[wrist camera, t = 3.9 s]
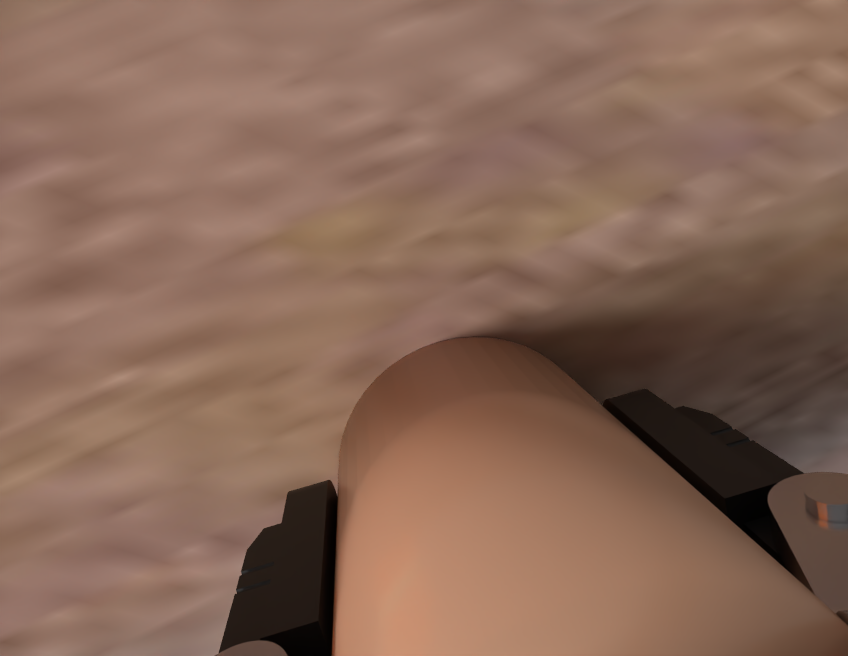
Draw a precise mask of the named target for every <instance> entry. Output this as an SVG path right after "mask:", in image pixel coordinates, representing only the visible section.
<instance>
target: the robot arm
mask: <svg viewBox="0 0 848 656" xmlns="http://www.w3.org/2000/svg"><path fill="white" fill-rule="evenodd" d="M603 407H604V408H605V409H606V410H608V411H609V412H610V413H611V414H612V415H613V416H614V417H615V418H617V419H618V420H619V421H620V422H621V423H622V424H623V425H624V426H625V427H627V428H628V429H629V430H630V431H631V432H632V433H633V434H634V435H636V436H637V437H638V438H639V439H640V440H641V441H642V442H643V443H645V444H646V445H647V446H648V447H649V448H650V449H651V450H652V451H654V452H655V453H656V454H657V455H658V456H659V457H660V458H661V459H663V460H664V461H665V462H666V463H667V464H668V465H669V466H670V467H672V468H673V469H674V470H675V471H676V472H677V473H678V474H679V475H681V476H682V477H683V478H684V479H685V480H686V481H687V482H688V483H690V484H691V485H692V486H693V487H694V488H695V489H696V490H697V491H699V492H700V493H701V494H702V495H703V496H704V497H705V498H706V499H708V500H709V501H710V502H711V503H712V504H713V505H714V506H715V507H717V508H718V509H719V510H720V511H721V512H722V513H723V514H724V515H725V516H727V517H728V518H729V519H730V520H731V521H732V522H733V523H734V524H736V525H737V526H738V527H739V528H740V529H741V530H742V531H743V532H745V533H746V534H747V535H748V536H749V537H750V538H751V539H752V540H754V541H755V542H756V543H757V544H758V545H759V546H760V547H761V548H763V549H764V550H765V551H766V552H767V553H768V554H769V555H770V556H772V557H773V558H774V559H775V560H776V561H777V562H778V563H779V564H781V565H782V566H783V567H784V568H785V569H786V570H787V571H788V572H790V573H791V574H792V575H793V576H794V577H795V578H796V579H797V580H799V581H800V582H801V583H802V584H803V585H804V586H805V587H806V588H808V589H809V590H810V591H811V592H812V593H813V594H814V595H815V596H817V597H818V598H819V599H820V600H821V601H822V602H823V603H824V604H825V605H827V606H828V607H829V608H830V609H831V610H832V611H833V612H834V613H836V614H837V615H838V616H839V617H840V618H841V619H842V620H843V621H844V622H845V623H846V624H847V625H848V474H842V473H833V472H815V473H805V474H804V473H803V472H801V471H800V470H798V469H796V468H795V467H793V466H792V465H790V464H789V463H787V462H786V461H784V460H782V459H781V458H779V457H778V456H776V455H775V454H773V453H772V452H770V451H768V450H767V449H765V448H764V447H762V446H761V445H759V444H758V443H756V442H754V441H750V440H749V438H748V437H747V436H745V435H744V434H742V433H741V432H739V431H737V430H736V429H735V430H733V429H732V427H731V426H730V425H728V424H727V423H725V422H723V421H722V420H720V419H719V418H717V417H716V416H714V415H713V414H710V413H707V412H703V411H700V410H696V409H692V408H689V407H685V406H682V407H678V408H675V409H674V408H673V407H671V406H670V405H669V404H667V403H666V402H664V401H663V400H662V399H660V398H659V397H657V396H656V395H654V394H653V393H652V392H650V391H649V390H647V389H642V390H638V391H635V392H631V393H628V394H625V395H621V396H618V397H614V398H611V399H607V400H605V401H604V402H603ZM337 498H338V497H337V494H336V491H335V488H334V486H333V484H332V482H331V481H330V480H327V481H324V482H320V483H317V484H313V485H310V486H306V487H303V488H299V489H296V490H293V491H289V492H288V494H287V498H286V504H285V509H284V514H283V519H282V523H281V524H277V525H274V526H271V527H267V528H264V529H263V530H262V532H261V533H260V534H259V535H258V537H257V538H256V539H255V541H254V542H253V543H252V544H251V546H250V547H249V548H248V549H247V552H246V556H245V559H244V563H243V567H242V570H241V573H242V575H241V576H240V577H239V581H238V585H237V588H236V591H237V594H235V596H234V599H233V603H232V607H231V610H230V614H229V617H228V621H227V625H226V628H225V632H224V636H223V639H222V643H221V647H220V650H219V654H217V655H215V656H332V632H333V605H334V578H335V552H336V525H337Z"/></svg>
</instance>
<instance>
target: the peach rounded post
mask: <svg viewBox="0 0 848 656" xmlns="http://www.w3.org/2000/svg"><path fill="white" fill-rule="evenodd" d="M332 656H848V625H847V624H846V623H845V622H844V621H843V620H842V619H841V618H840V617H839V616H838V615H837V614H836V613H834V612H833V611H832V610H831V609H830V608H829V607H828V606H827V605H825V604H824V603H823V602H822V601H821V600H820V599H819V598H818V597H817V596H815V595H814V594H813V593H812V592H811V591H810V590H809V589H808V588H806V587H805V586H804V585H803V584H802V583H801V582H800V581H799V580H797V579H796V578H795V577H794V576H793V575H792V574H791V573H790V572H788V571H787V570H786V569H785V568H784V567H783V566H782V565H781V564H779V563H778V562H777V561H776V560H775V559H774V558H773V557H772V556H770V555H769V554H768V553H767V552H766V551H765V550H764V549H763V548H761V547H760V546H759V545H758V544H757V543H756V542H755V541H754V540H752V539H751V538H750V537H749V536H748V535H747V534H746V533H745V532H743V531H742V530H741V529H740V528H739V527H738V526H737V525H736V524H734V523H733V522H732V521H731V520H730V519H729V518H728V517H727V516H725V515H724V514H723V513H722V512H721V511H720V510H719V509H718V508H717V507H715V506H714V505H713V504H712V503H711V502H710V501H709V500H708V499H706V498H705V497H704V496H703V495H702V494H701V493H700V492H699V491H697V490H696V489H695V488H694V487H693V486H692V485H691V484H690V483H688V482H687V481H686V480H685V479H684V478H683V477H682V476H681V475H679V474H678V473H677V472H676V471H675V470H674V469H673V468H672V467H670V466H669V465H668V464H667V463H666V462H665V461H664V460H663V459H661V458H660V457H659V456H658V455H657V454H656V453H655V452H654V451H652V450H651V449H650V448H649V447H648V446H647V445H646V444H645V443H643V442H642V441H641V440H640V439H639V438H638V437H637V436H636V435H634V434H633V433H632V432H631V431H630V430H629V429H628V428H627V427H625V426H624V425H623V424H622V423H621V422H620V421H619V420H618V419H617V418H615V417H614V416H613V415H612V414H611V413H610V412H609V411H608V410H606V409H605V408H604V407H603V406H602V405H601V404H600V403H599V402H597V401H596V400H595V399H594V398H593V397H592V396H591V395H590V394H588V393H587V392H586V391H585V390H584V389H583V388H582V387H581V386H579V385H578V384H577V383H576V382H575V381H574V380H573V379H572V378H570V377H569V376H568V375H567V374H566V373H565V372H564V371H563V370H561V369H560V368H559V367H558V366H557V365H556V364H555V363H554V362H552V361H551V360H549V359H548V358H546V357H545V356H543V355H542V354H540V353H539V352H536V351H534V350H532V349H530V348H528V347H526V346H524V345H520V344H517V343H514V342H511V341H508V340H502V339H496V338H489V337H466V338H455V339H451V340H446V341H441V342H437V343H435V344H432V345H429V346H426V347H423V348H421V349H419V350H417V351H415V352H413V353H411V354H409V355H407V356H405V357H403V358H402V359H400V360H399V361H397V362H396V363H394V364H393V365H391V366H390V367H389V368H388V369H387V370H385V371H384V372H383V373H382V374H381V375H380V376H379V377H377V378H376V379H375V381H374V382H373V383H372V384H371V385H370V386H369V387H368V388H367V390H366V391H365V392H364V394H363V395H362V397H361V398H360V399H359V401H358V402H357V404H356V405H355V407H354V409H353V411H352V413H351V415H350V417H349V419H348V422H347V425H346V427H345V430H344V433H343V436H342V441H341V447H340V452H339V471H338V498H337V525H336V552H335V578H334V605H333V632H332Z"/></svg>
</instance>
